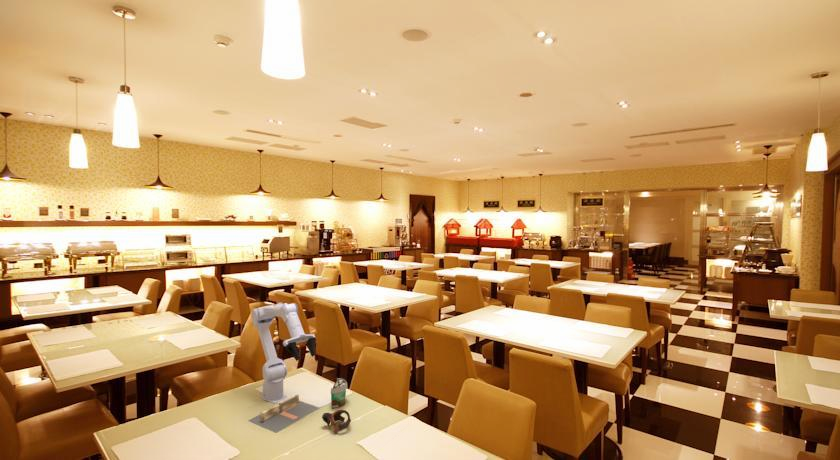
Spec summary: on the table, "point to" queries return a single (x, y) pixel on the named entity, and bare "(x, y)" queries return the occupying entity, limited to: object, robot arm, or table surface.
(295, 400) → the fixed fence section
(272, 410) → the bar
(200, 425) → the table surface
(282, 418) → the mat
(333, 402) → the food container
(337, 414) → the pottery mug
